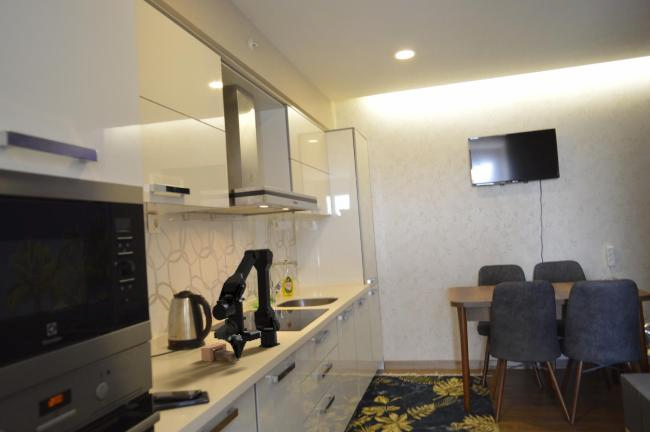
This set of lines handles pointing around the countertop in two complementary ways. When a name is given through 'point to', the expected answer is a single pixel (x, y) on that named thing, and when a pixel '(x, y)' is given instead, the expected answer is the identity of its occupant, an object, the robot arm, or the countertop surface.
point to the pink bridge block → (211, 351)
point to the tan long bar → (225, 355)
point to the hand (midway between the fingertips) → (238, 358)
